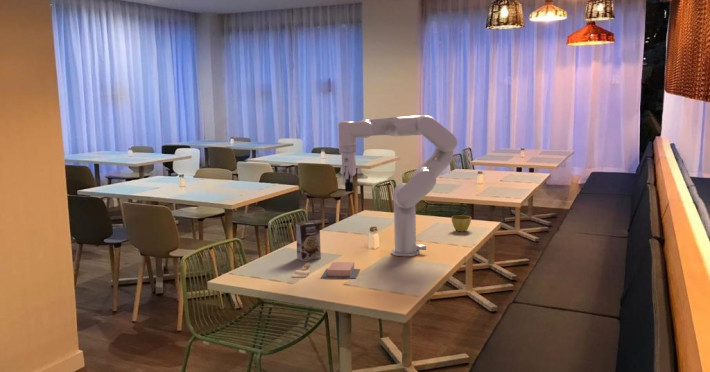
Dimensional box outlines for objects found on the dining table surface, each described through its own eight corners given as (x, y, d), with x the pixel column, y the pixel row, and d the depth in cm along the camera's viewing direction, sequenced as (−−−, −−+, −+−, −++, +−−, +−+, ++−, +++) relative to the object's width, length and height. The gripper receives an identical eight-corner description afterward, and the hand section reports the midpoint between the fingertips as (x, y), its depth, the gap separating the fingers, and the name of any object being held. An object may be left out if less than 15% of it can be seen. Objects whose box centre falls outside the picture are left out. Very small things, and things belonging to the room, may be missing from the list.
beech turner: (301, 265, 255) (301, 262, 255) (315, 265, 254) (315, 262, 254) (291, 277, 238) (291, 275, 238) (306, 277, 237) (306, 275, 237)
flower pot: (474, 229, 309) (474, 216, 308) (466, 234, 301) (466, 220, 300) (456, 228, 315) (456, 214, 313) (448, 232, 306) (448, 218, 305)
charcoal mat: (360, 269, 246) (360, 269, 246) (355, 278, 234) (355, 277, 234) (326, 269, 248) (326, 268, 248) (320, 278, 236) (320, 277, 236)
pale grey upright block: (354, 262, 246) (350, 270, 236) (354, 268, 247) (350, 276, 236) (332, 262, 248) (327, 269, 237) (332, 268, 248) (327, 276, 237)
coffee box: (302, 261, 260) (300, 225, 258) (296, 258, 266) (295, 222, 263) (321, 258, 264) (320, 222, 262) (315, 255, 270) (314, 220, 267)
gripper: (353, 151, 253) (355, 194, 256) (358, 147, 268) (359, 188, 270) (336, 151, 254) (337, 194, 257) (342, 148, 269) (343, 188, 272)
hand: (349, 191), depth 264 cm, fingers closed
